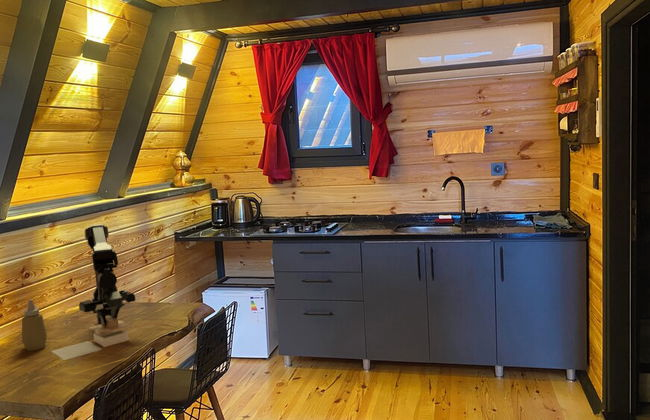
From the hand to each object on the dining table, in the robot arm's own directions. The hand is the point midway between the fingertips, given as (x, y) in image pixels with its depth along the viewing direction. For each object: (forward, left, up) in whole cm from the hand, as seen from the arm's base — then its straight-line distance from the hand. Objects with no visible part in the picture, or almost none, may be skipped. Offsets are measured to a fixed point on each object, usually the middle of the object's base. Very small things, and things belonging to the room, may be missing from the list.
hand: (109, 324), depth 210 cm
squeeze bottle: (-15, -22, -7) cm, 27 cm away
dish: (0, 0, -7) cm, 7 cm away
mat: (0, -13, -7) cm, 14 cm away
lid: (0, 0, -2) cm, 2 cm away
